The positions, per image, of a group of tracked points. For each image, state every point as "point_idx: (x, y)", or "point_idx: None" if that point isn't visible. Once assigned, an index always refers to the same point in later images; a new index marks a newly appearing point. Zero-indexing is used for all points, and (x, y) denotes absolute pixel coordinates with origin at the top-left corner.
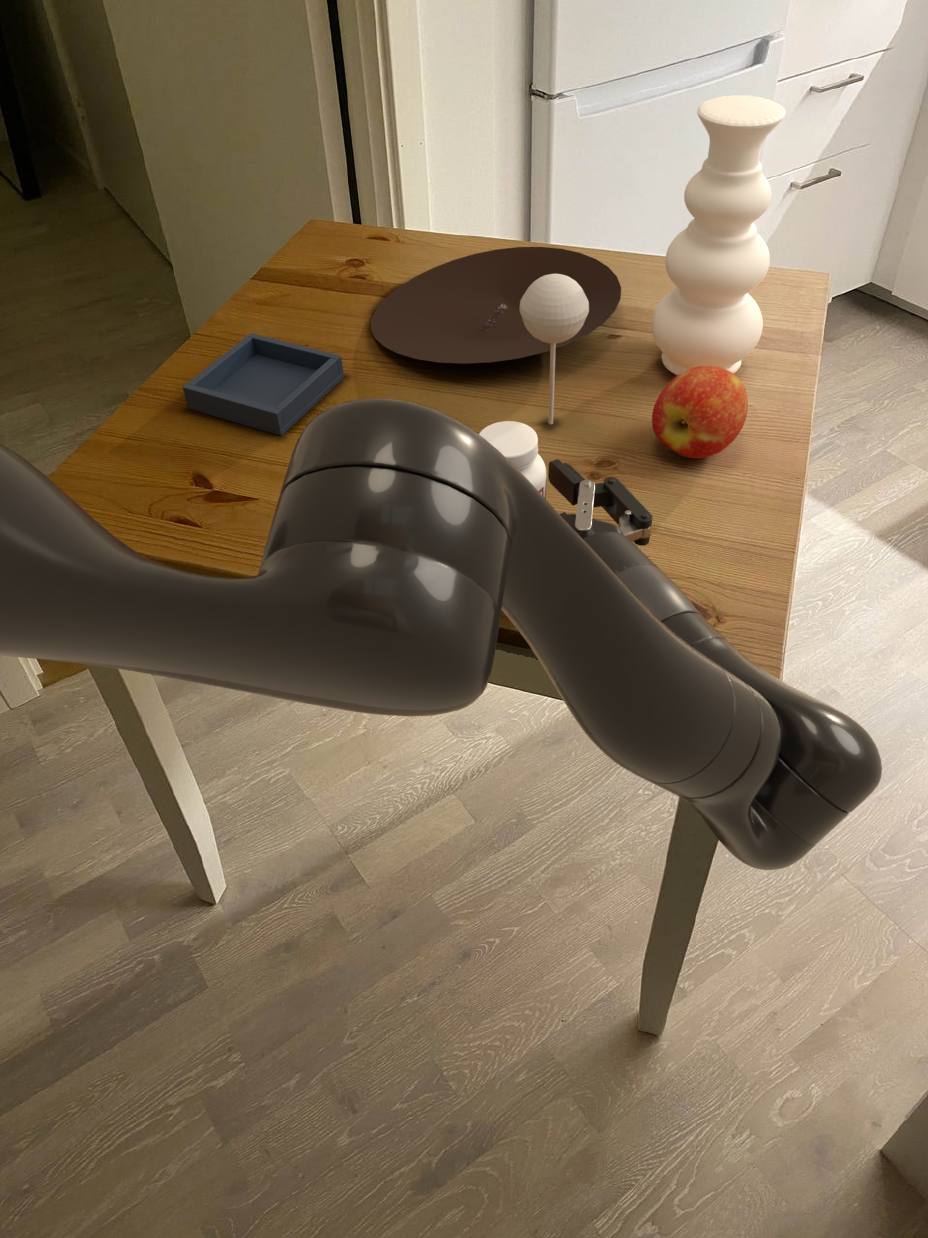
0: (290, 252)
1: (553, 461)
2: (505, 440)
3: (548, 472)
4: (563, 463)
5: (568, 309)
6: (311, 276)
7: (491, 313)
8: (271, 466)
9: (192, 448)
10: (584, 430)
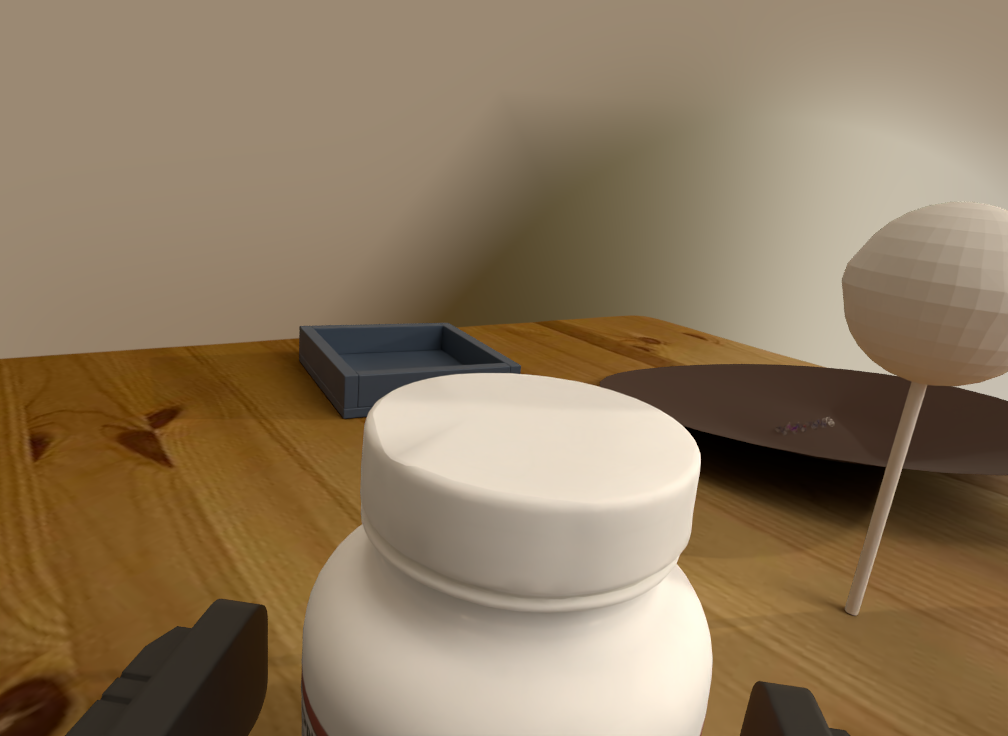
0: (589, 318)
1: (777, 689)
2: (512, 423)
3: (740, 734)
4: (834, 730)
5: (1001, 268)
6: (590, 334)
7: (803, 422)
8: (269, 441)
9: (229, 387)
10: (951, 673)
